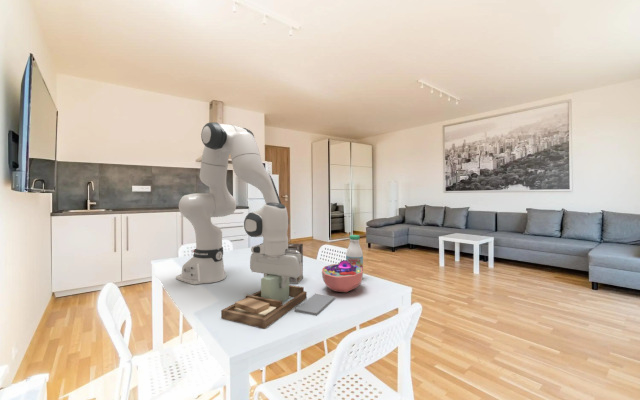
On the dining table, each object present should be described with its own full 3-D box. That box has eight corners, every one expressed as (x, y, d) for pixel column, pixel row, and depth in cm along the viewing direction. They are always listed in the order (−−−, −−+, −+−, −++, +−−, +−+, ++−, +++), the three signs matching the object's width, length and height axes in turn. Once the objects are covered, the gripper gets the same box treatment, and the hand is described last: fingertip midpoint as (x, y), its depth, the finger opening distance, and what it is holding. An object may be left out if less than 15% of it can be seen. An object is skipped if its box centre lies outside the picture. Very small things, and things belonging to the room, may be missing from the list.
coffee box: (289, 277, 132) (289, 243, 132) (303, 278, 131) (303, 243, 131) (283, 283, 123) (283, 246, 123) (297, 284, 122) (297, 247, 122)
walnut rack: (221, 318, 88) (221, 305, 88) (269, 291, 112) (269, 281, 112) (264, 328, 82) (264, 314, 82) (306, 298, 106) (306, 287, 105)
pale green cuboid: (261, 307, 97) (261, 278, 97) (280, 296, 108) (280, 269, 108) (270, 309, 95) (270, 279, 95) (289, 297, 106) (289, 271, 106)
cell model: (312, 293, 111) (312, 264, 110) (333, 280, 128) (334, 255, 128) (353, 301, 103) (353, 270, 102) (370, 285, 120) (370, 259, 120)
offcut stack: (230, 317, 90) (230, 303, 90) (246, 309, 97) (246, 296, 96) (263, 326, 84) (263, 311, 84) (277, 316, 91) (277, 302, 90)
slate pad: (294, 311, 94) (294, 309, 94) (315, 295, 108) (315, 293, 108) (316, 315, 90) (316, 313, 90) (334, 298, 105) (334, 296, 105)
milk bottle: (344, 276, 134) (344, 234, 133) (360, 276, 134) (361, 234, 134) (347, 281, 126) (347, 236, 125) (364, 281, 127) (364, 236, 126)
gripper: (305, 249, 100) (305, 288, 100) (258, 244, 108) (258, 280, 108) (296, 252, 94) (296, 293, 94) (247, 247, 102) (247, 285, 103)
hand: (275, 286), depth 101 cm, fingers closed on pale green cuboid, 4 cm apart
